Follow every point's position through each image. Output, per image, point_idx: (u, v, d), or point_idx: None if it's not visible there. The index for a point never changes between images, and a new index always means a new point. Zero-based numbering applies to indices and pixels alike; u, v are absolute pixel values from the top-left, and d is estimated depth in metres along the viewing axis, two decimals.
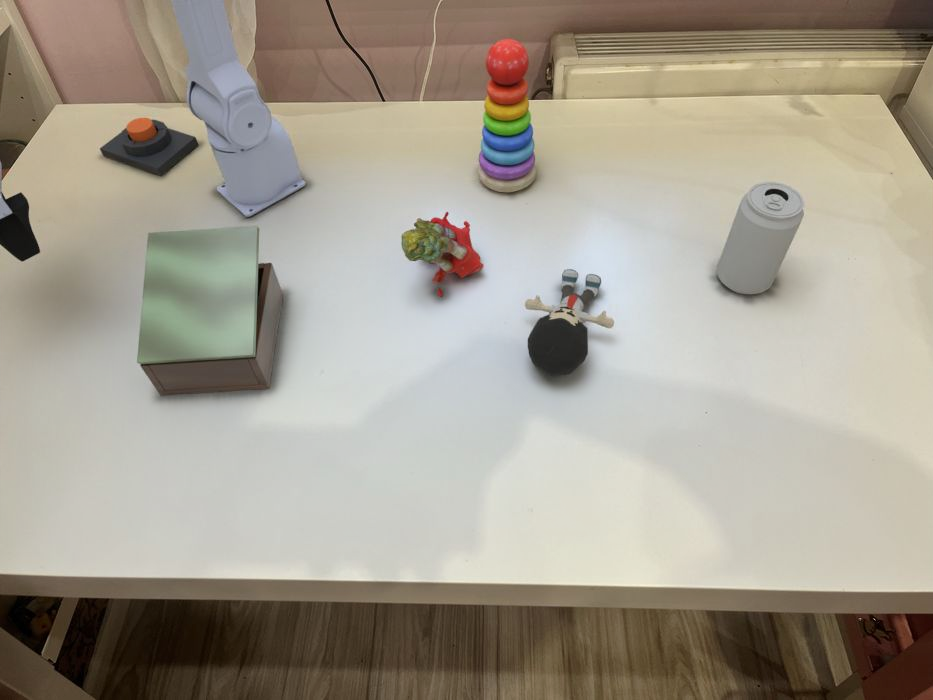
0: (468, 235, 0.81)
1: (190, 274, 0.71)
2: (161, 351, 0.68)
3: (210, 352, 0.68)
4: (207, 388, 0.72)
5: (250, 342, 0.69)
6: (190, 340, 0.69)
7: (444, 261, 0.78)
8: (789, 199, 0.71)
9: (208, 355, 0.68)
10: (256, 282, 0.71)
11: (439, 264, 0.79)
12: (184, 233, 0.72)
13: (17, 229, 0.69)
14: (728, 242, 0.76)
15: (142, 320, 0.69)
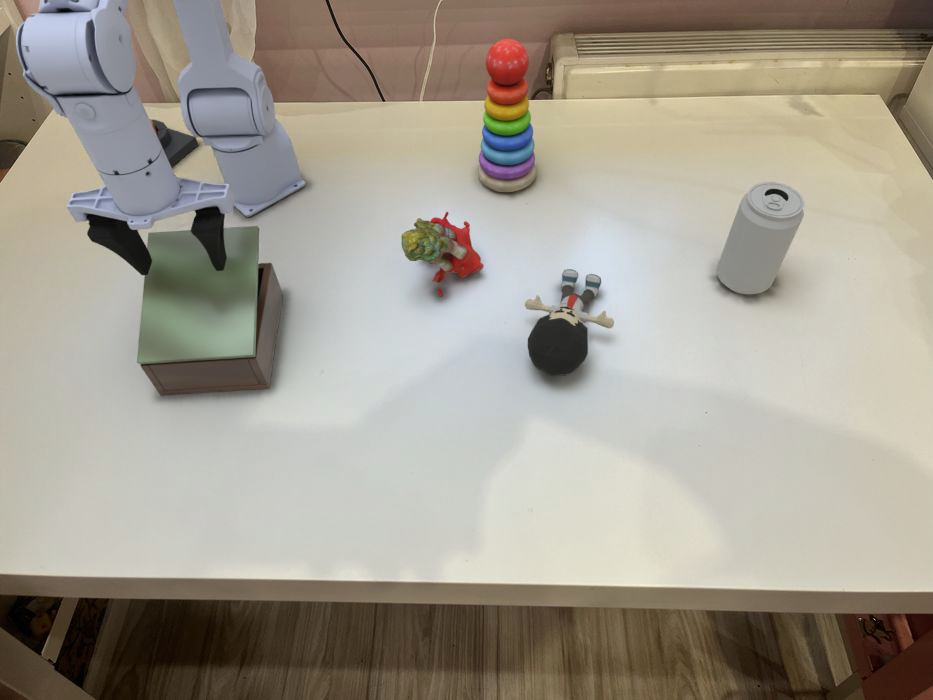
0: (468, 235, 0.81)
1: (190, 274, 0.71)
2: (161, 351, 0.68)
3: (210, 352, 0.68)
4: (207, 388, 0.72)
5: (250, 342, 0.69)
6: (190, 340, 0.69)
7: (444, 261, 0.78)
8: (789, 199, 0.71)
9: (208, 355, 0.68)
10: (256, 282, 0.71)
11: (439, 264, 0.79)
12: (184, 233, 0.72)
13: None
14: (728, 242, 0.76)
15: (142, 320, 0.69)
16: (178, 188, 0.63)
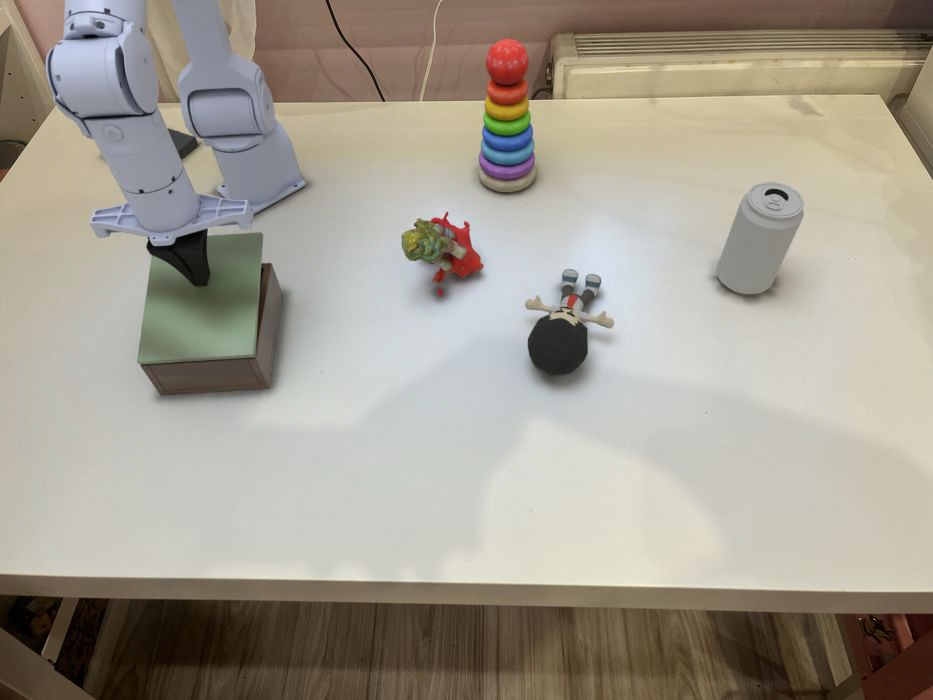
0: (468, 235, 0.81)
1: None
2: (161, 351, 0.68)
3: (210, 352, 0.68)
4: (207, 388, 0.72)
5: (250, 342, 0.69)
6: (191, 340, 0.69)
7: (444, 261, 0.78)
8: (789, 199, 0.71)
9: (208, 355, 0.68)
10: (258, 285, 0.72)
11: (439, 264, 0.79)
12: None
13: None
14: (728, 242, 0.76)
15: (144, 321, 0.70)
16: (198, 205, 0.64)
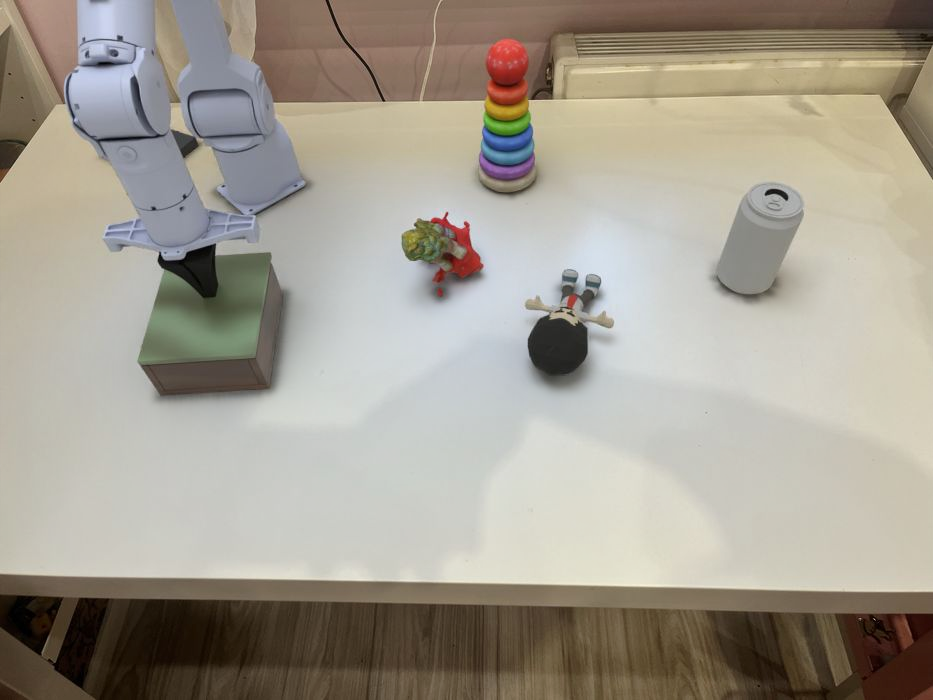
0: (468, 235, 0.81)
1: None
2: (163, 351, 0.69)
3: (211, 352, 0.68)
4: (207, 388, 0.72)
5: (251, 343, 0.69)
6: (193, 342, 0.69)
7: (444, 261, 0.78)
8: (789, 199, 0.71)
9: (208, 355, 0.68)
10: (263, 296, 0.73)
11: (439, 264, 0.79)
12: None
13: None
14: (728, 242, 0.76)
15: (149, 326, 0.71)
16: (208, 220, 0.66)
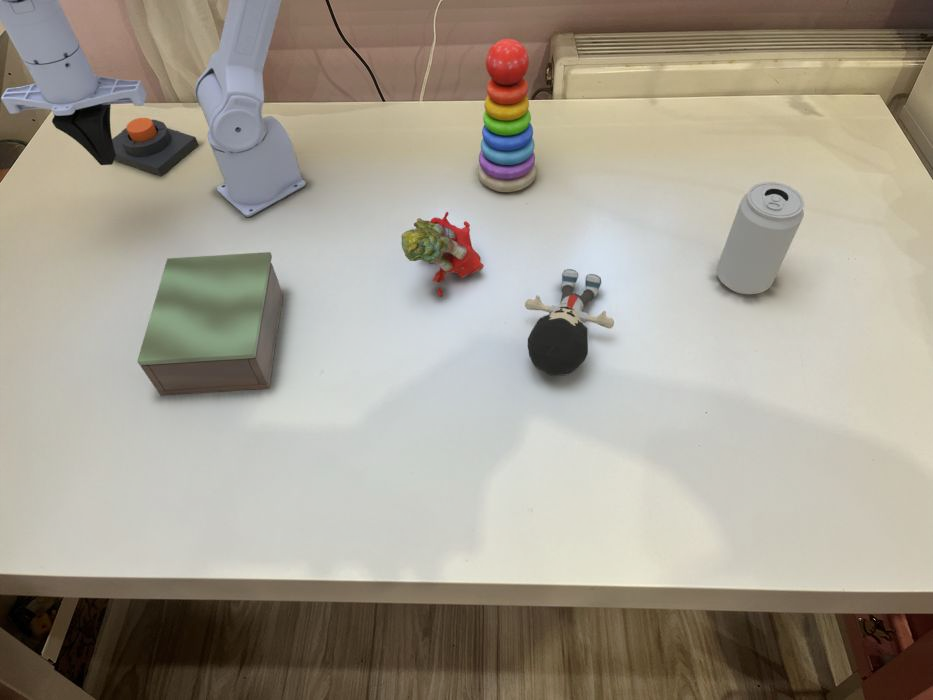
0: (468, 235, 0.81)
1: (201, 289, 0.74)
2: (163, 351, 0.69)
3: (211, 352, 0.68)
4: (207, 388, 0.72)
5: (251, 343, 0.69)
6: (193, 342, 0.69)
7: (444, 261, 0.78)
8: (789, 199, 0.71)
9: (208, 355, 0.68)
10: (263, 296, 0.73)
11: (439, 264, 0.79)
12: (201, 258, 0.77)
13: (102, 130, 0.79)
14: (728, 242, 0.76)
15: (149, 326, 0.71)
16: (96, 83, 0.74)
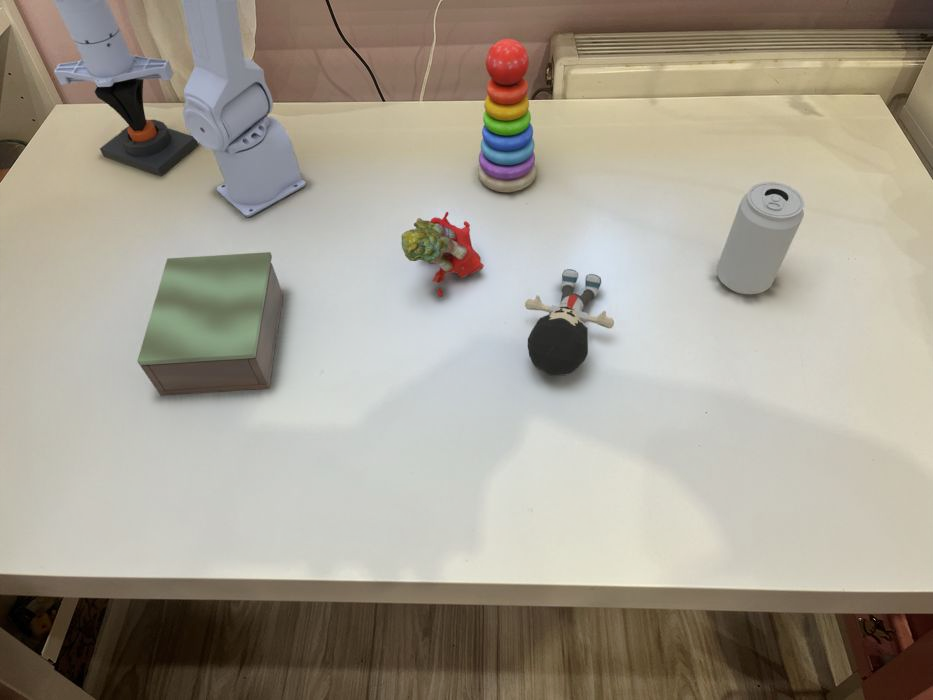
0: (468, 235, 0.81)
1: (201, 289, 0.74)
2: (163, 351, 0.69)
3: (211, 352, 0.68)
4: (207, 388, 0.72)
5: (251, 343, 0.69)
6: (193, 342, 0.69)
7: (444, 261, 0.78)
8: (789, 199, 0.71)
9: (208, 355, 0.68)
10: (263, 296, 0.73)
11: (439, 264, 0.79)
12: (201, 258, 0.77)
13: (136, 101, 0.94)
14: (728, 242, 0.76)
15: (149, 326, 0.71)
16: (132, 61, 0.89)
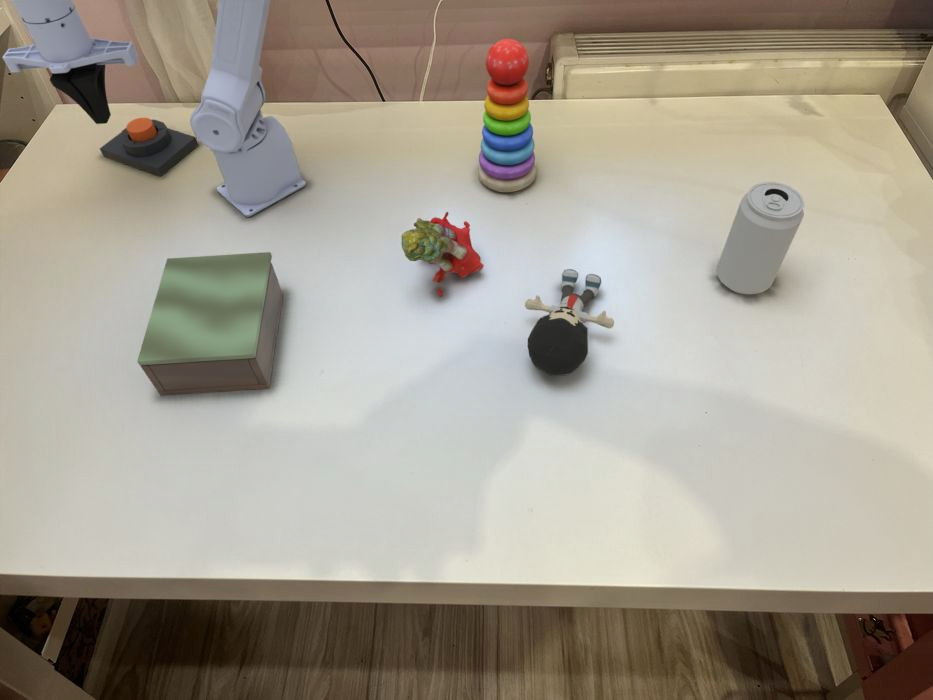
0: (468, 235, 0.81)
1: (201, 289, 0.74)
2: (163, 351, 0.69)
3: (211, 352, 0.68)
4: (207, 388, 0.72)
5: (251, 343, 0.69)
6: (193, 342, 0.69)
7: (444, 261, 0.78)
8: (789, 199, 0.71)
9: (208, 355, 0.68)
10: (263, 296, 0.73)
11: (439, 264, 0.79)
12: (201, 258, 0.77)
13: (97, 90, 0.84)
14: (728, 242, 0.76)
15: (149, 326, 0.71)
16: (91, 44, 0.79)
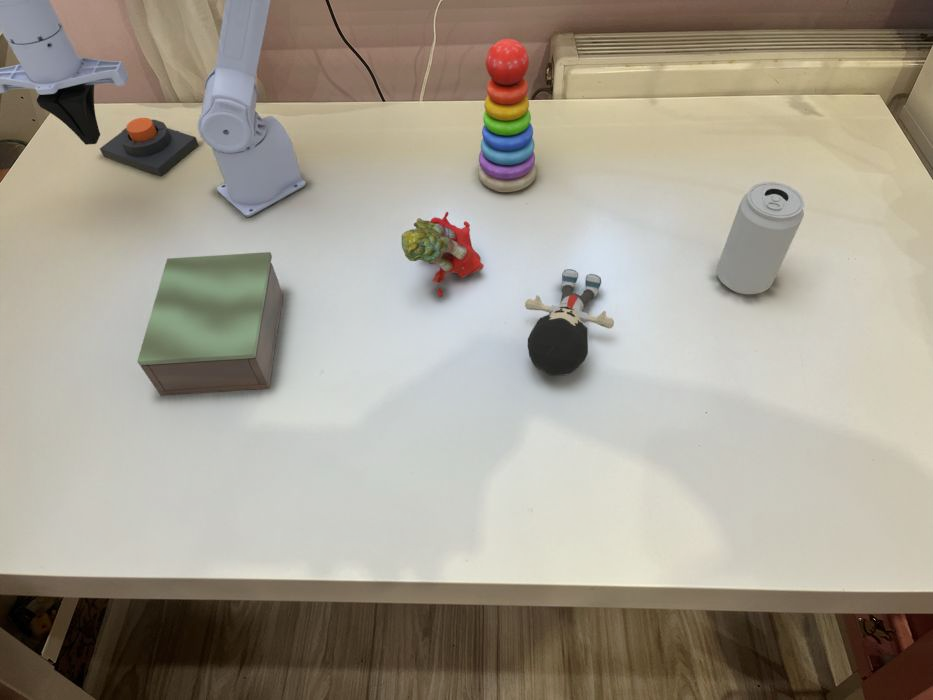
0: (468, 235, 0.81)
1: (201, 289, 0.74)
2: (163, 351, 0.69)
3: (211, 352, 0.68)
4: (207, 388, 0.72)
5: (251, 343, 0.69)
6: (193, 342, 0.69)
7: (444, 261, 0.78)
8: (789, 199, 0.71)
9: (208, 355, 0.68)
10: (263, 296, 0.73)
11: (439, 264, 0.79)
12: (201, 258, 0.77)
13: (86, 110, 0.81)
14: (728, 242, 0.76)
15: (149, 326, 0.71)
16: (79, 63, 0.77)
